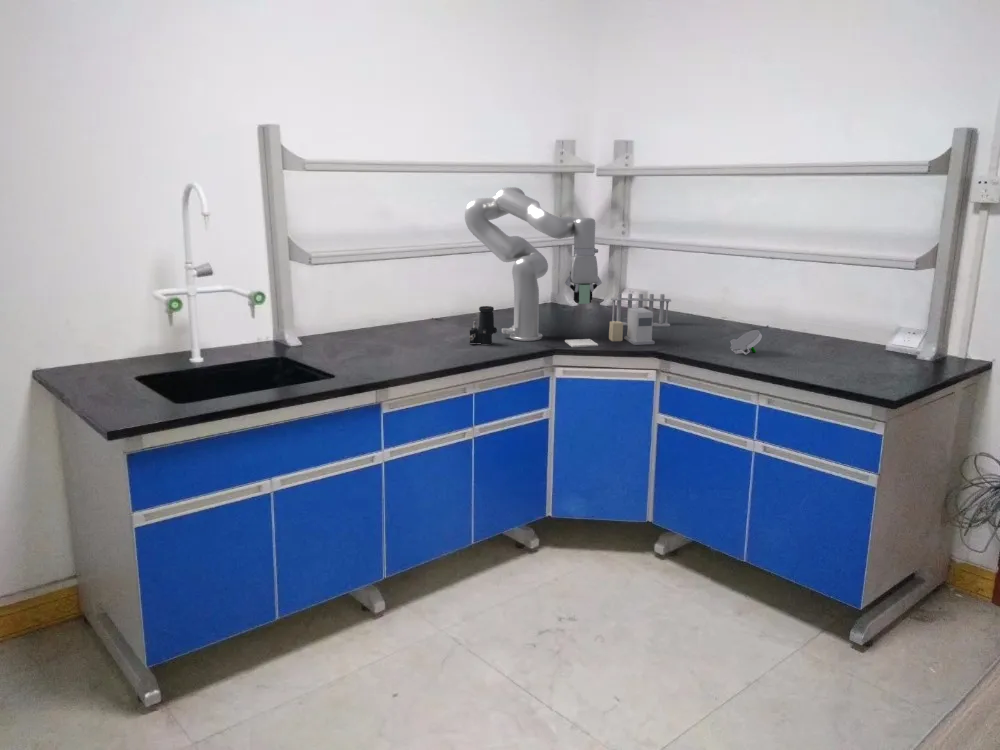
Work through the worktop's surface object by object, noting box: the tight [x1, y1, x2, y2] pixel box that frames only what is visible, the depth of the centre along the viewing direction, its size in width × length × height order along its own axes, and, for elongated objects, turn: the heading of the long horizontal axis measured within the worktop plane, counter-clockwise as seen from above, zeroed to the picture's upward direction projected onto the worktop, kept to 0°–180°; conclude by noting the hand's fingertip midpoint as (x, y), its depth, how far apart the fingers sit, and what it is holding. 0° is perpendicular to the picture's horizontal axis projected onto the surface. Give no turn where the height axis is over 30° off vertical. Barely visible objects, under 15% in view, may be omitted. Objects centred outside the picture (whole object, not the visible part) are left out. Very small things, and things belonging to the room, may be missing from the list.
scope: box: [468, 305, 498, 345], centre depth 288 cm, size 8×14×10 cm
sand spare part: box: [608, 320, 624, 342], centre depth 296 cm, size 4×4×7 cm
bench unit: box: [623, 307, 656, 346], centre depth 293 cm, size 8×11×12 cm
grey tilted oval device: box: [729, 329, 763, 355], centre depth 276 cm, size 15×8×11 cm
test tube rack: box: [610, 292, 672, 327], centre depth 325 cm, size 25×4×13 cm, turn 83°
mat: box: [564, 338, 599, 348], centre depth 290 cm, size 10×10×1 cm
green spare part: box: [577, 284, 590, 305], centre depth 285 cm, size 4×4×7 cm
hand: (582, 301), depth 286 cm, fingers closed on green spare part, 4 cm apart
